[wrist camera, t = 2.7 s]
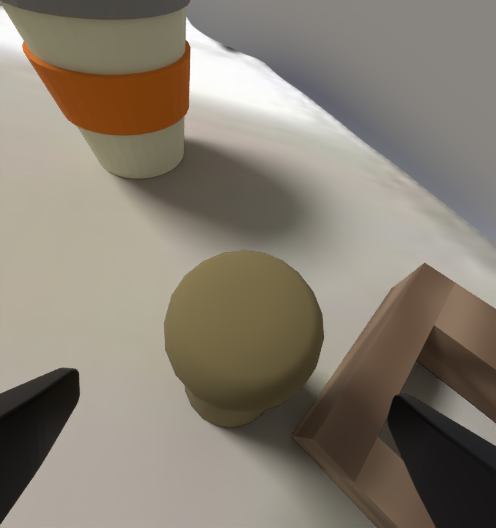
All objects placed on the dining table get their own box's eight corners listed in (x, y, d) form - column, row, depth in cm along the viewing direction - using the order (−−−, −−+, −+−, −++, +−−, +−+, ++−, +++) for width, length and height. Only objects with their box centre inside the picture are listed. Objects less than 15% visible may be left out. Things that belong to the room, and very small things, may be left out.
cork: (271, 325, 18) (327, 224, 9) (283, 423, 15) (388, 422, 6) (187, 327, 18) (153, 220, 8) (180, 431, 14) (112, 444, 5)
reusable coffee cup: (74, 127, 29) (-39, -106, 16) (183, 116, 32) (161, -82, 20) (84, 202, 23) (-81, -73, 10) (215, 177, 26) (214, -47, 14)
